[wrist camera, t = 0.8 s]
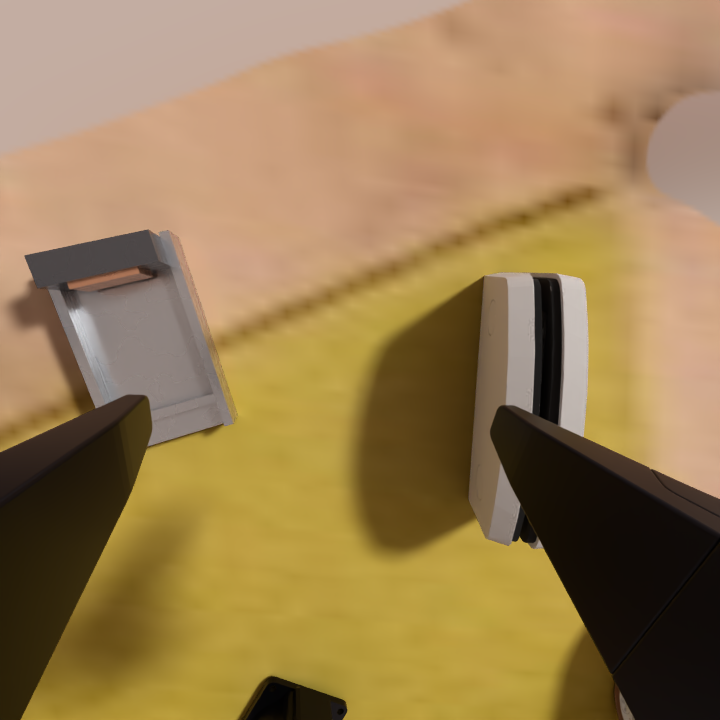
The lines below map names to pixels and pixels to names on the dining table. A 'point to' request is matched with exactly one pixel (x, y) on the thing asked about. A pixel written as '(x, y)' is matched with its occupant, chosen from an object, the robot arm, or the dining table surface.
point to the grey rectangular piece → (138, 328)
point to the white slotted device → (525, 381)
